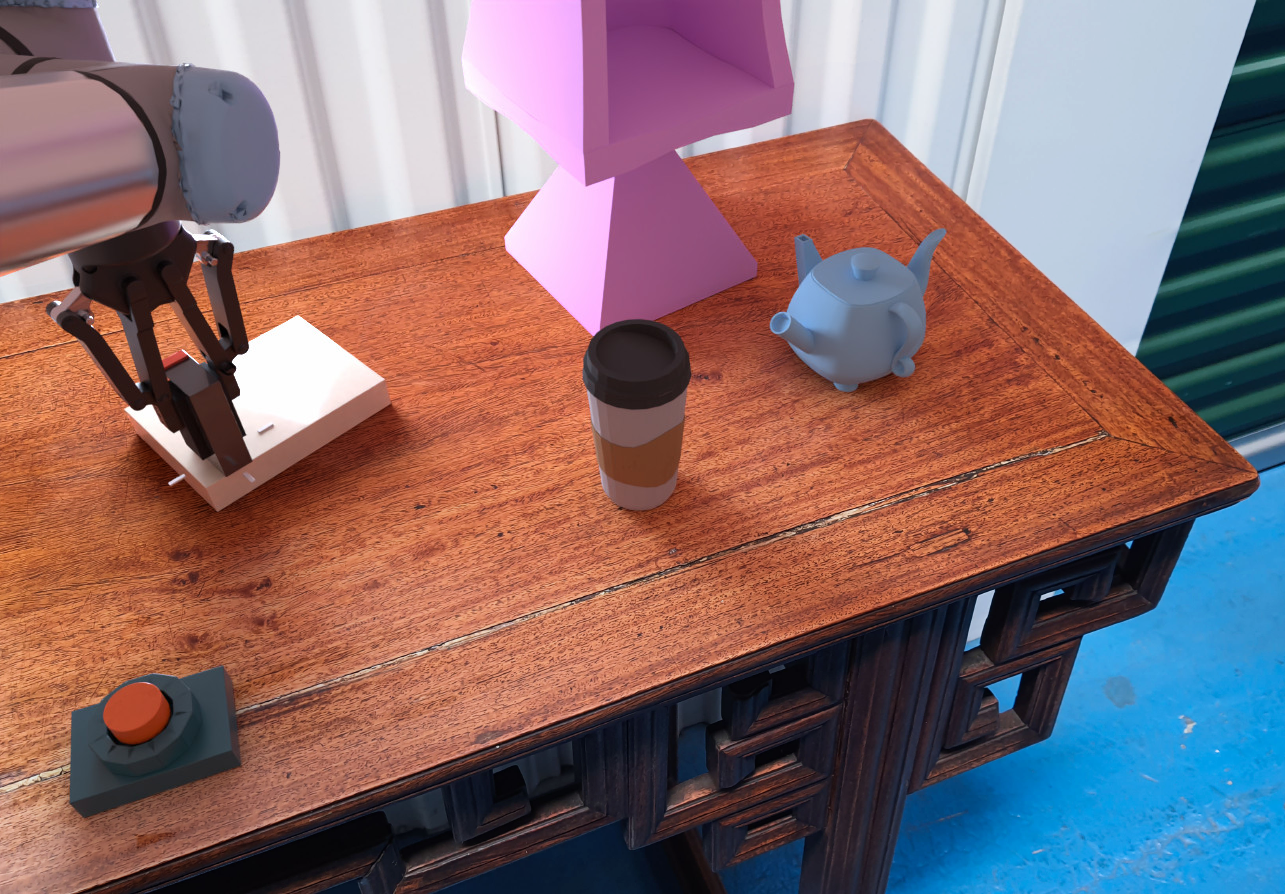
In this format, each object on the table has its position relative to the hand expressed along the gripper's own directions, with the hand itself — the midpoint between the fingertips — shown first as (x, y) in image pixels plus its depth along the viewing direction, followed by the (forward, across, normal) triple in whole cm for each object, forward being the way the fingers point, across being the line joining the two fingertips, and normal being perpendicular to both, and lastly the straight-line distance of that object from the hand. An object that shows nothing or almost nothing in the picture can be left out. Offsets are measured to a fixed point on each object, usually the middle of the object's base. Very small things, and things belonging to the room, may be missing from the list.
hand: (216, 439), depth 82 cm
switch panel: (+5, -5, -3) cm, 8 cm away
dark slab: (+2, 0, 0) cm, 2 cm away
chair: (+5, -46, +3) cm, 46 cm away
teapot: (+5, -49, +29) cm, 57 cm away
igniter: (+5, +17, +19) cm, 26 cm away
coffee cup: (+5, -23, +26) cm, 35 cm away
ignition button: (+1, +17, +19) cm, 25 cm away
